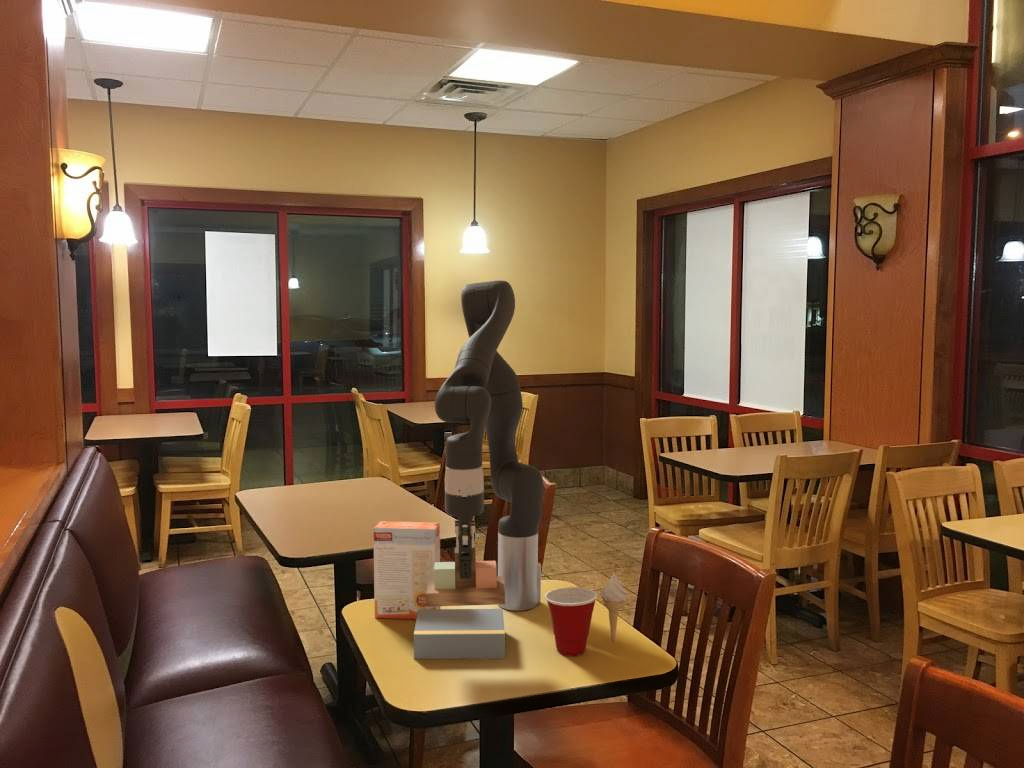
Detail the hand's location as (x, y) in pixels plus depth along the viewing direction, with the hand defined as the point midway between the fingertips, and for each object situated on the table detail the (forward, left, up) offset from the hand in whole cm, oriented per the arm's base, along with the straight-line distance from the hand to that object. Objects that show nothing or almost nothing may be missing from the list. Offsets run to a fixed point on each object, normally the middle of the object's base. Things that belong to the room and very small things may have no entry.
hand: (465, 574), depth 163 cm
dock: (-3, -7, -18) cm, 19 cm away
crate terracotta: (-3, +2, -2) cm, 5 cm away
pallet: (0, 0, -5) cm, 5 cm away
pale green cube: (+3, -2, -2) cm, 5 cm away
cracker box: (-2, -27, -18) cm, 32 cm away
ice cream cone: (-30, +10, -18) cm, 36 cm away
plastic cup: (-20, +8, -18) cm, 28 cm away
